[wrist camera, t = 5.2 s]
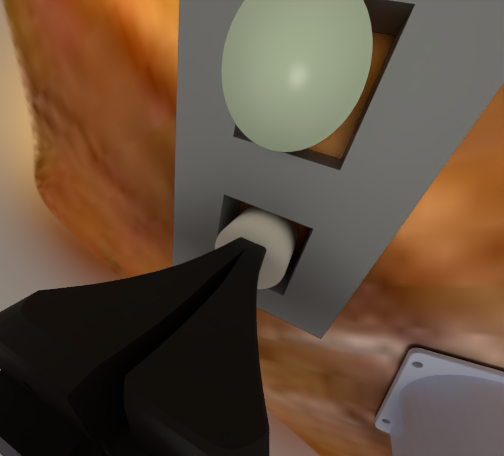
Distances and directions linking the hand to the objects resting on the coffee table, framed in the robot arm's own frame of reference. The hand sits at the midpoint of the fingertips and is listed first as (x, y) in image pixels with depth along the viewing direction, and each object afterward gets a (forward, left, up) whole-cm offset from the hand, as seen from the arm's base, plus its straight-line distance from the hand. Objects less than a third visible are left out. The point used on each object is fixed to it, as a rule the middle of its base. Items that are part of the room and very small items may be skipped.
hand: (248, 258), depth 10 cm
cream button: (0, 0, -3) cm, 3 cm away
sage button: (+7, -2, -2) cm, 7 cm away
